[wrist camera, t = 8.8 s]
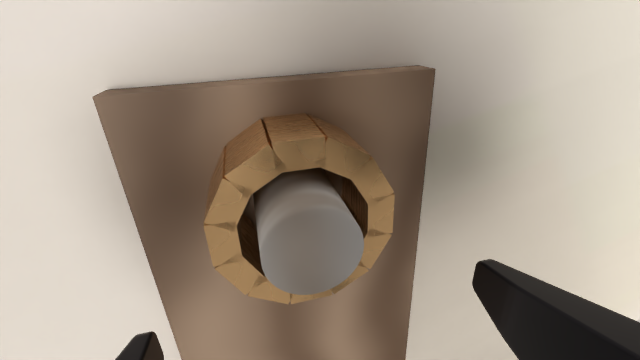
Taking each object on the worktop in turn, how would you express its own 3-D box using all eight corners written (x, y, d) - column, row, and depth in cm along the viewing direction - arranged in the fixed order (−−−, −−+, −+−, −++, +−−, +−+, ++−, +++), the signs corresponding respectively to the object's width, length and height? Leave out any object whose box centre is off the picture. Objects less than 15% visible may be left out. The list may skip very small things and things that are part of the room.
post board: (418, 65, 16) (521, 86, 10) (394, 361, 26) (440, 457, 20) (106, 89, 13) (11, 137, 8) (208, 410, 23) (200, 538, 17)
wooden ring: (363, 106, 15) (398, 127, 12) (362, 238, 18) (389, 282, 15) (196, 124, 13) (186, 153, 10) (226, 263, 16) (225, 318, 13)
